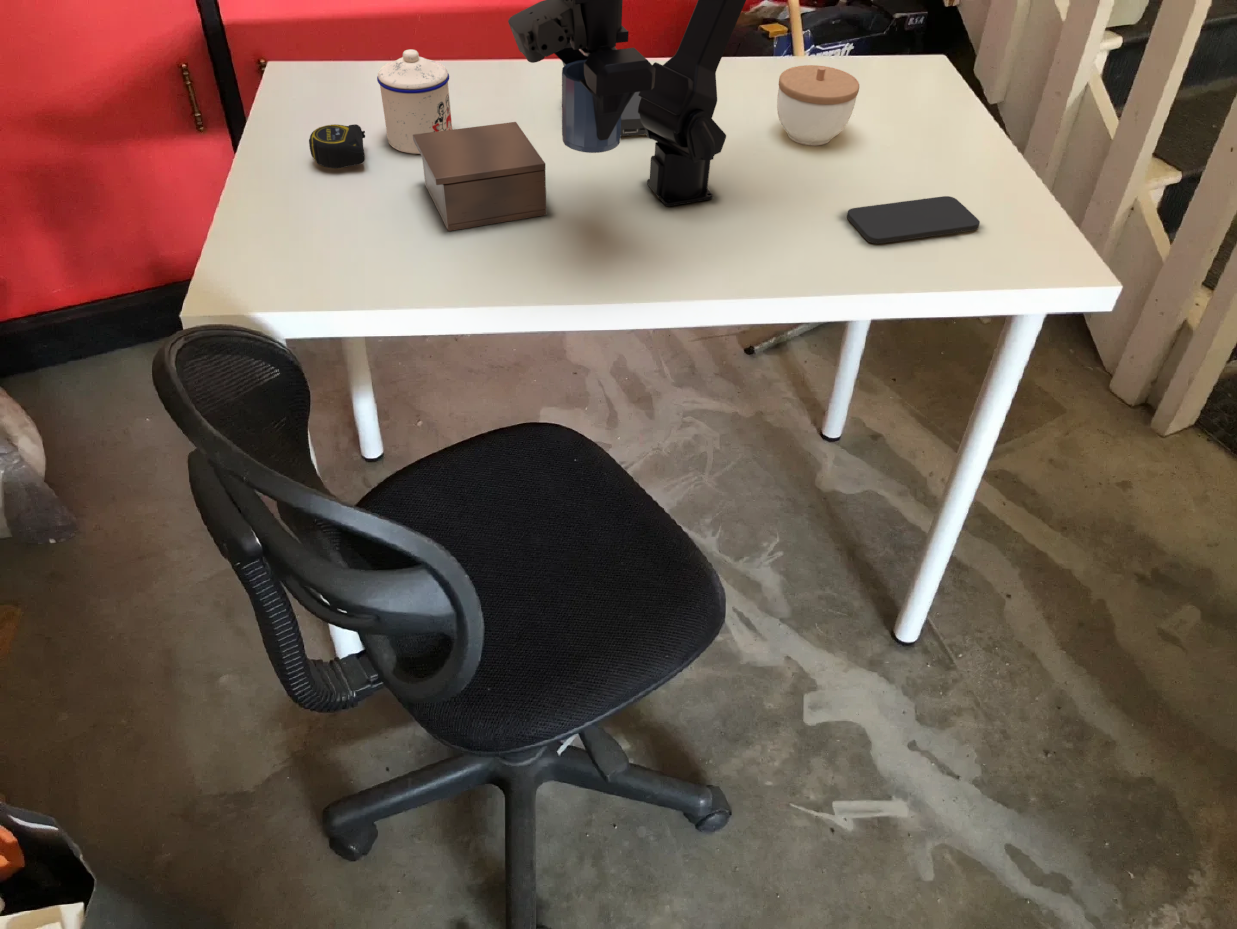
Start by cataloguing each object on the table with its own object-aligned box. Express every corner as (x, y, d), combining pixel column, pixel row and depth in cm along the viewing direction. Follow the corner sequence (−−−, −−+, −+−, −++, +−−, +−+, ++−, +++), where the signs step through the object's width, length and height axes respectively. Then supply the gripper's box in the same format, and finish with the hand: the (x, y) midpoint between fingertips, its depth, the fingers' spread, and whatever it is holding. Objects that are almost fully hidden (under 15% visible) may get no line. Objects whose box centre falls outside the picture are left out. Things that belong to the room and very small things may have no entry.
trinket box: (862, 147, 129) (878, 78, 122) (794, 158, 126) (806, 88, 119) (822, 114, 136) (835, 48, 129) (757, 124, 133) (767, 57, 126)
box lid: (436, 185, 105) (435, 178, 104) (413, 140, 113) (412, 134, 112) (545, 169, 109) (545, 163, 108) (516, 127, 116) (516, 121, 116)
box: (448, 231, 109) (443, 185, 105) (425, 185, 117) (420, 141, 113) (546, 215, 113) (545, 170, 109) (518, 171, 120) (516, 127, 116)
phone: (844, 208, 115) (952, 194, 118) (842, 214, 115) (950, 200, 118) (871, 240, 110) (984, 224, 113) (870, 246, 110) (982, 230, 113)
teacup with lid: (449, 157, 122) (440, 67, 114) (379, 154, 122) (366, 64, 114) (462, 117, 131) (455, 31, 123) (397, 114, 131) (386, 28, 123)
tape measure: (367, 172, 119) (362, 144, 116) (311, 175, 118) (305, 147, 115) (367, 148, 124) (363, 120, 121) (314, 150, 123) (308, 122, 120)
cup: (607, 123, 106) (609, 56, 101) (629, 148, 102) (632, 79, 97) (554, 131, 104) (553, 63, 99) (574, 156, 100) (574, 86, 95)
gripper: (487, -51, 95) (495, 101, 106) (548, 11, 83) (550, 175, 94) (589, -59, 98) (587, 89, 109) (662, 0, 86) (651, 159, 97)
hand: (591, 126), depth 102 cm, fingers closed on cup, 6 cm apart
